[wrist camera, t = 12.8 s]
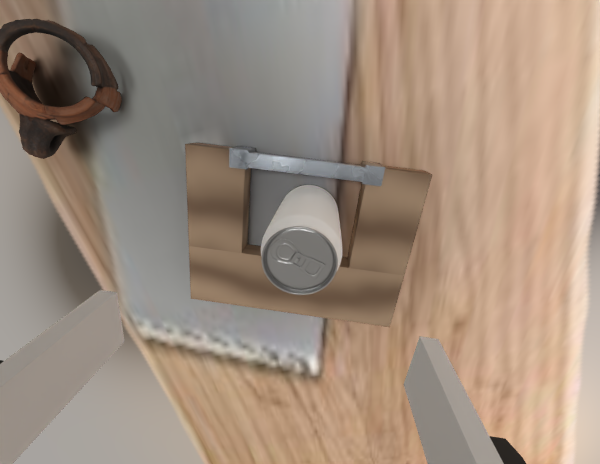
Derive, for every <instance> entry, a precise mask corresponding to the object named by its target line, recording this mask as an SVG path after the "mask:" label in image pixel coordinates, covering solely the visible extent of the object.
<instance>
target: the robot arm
mask: <svg viewBox="0 0 600 464" xmlns="http://www.w3.org/2000/svg"><path fill="white" fill-rule="evenodd" d="M123 343H124V336H123V329H122V322H121V316H120V309H119V302H118V296H117V292H111V291H104V290H99V291H98V292H97V293H95V294H94V295H93V296H91V297H90V298H89V299H87V300H86V301H85V302H83V303H82V304H80V305H79V306H78V307H76V308H75V309H74V310H72V311H71V312H70V313H68V314H67V315H66V316H64V317H63V318H62V319H60V320H59V321H57V322H56V323H55V324H53V325H52V326H51V327H49V328H48V329H47V330H45V331H44V332H43V333H41V334H40V335H39V336H37V337H36V338H35V339H33V340H32V341H30V343H28V344H26V345H25V346H24V347H22V348H21V349H20V350H18V351H17V352H16V353H14V354H13V355H12V356H10V357H9V358H8V359H6V360H5V361H1V360H0V464H12V463H14V462H15V461H16V459H17V458H18V457H19V456H20V455H21V454H22V453H23V452H24V451H25V450H26V449H27V447H28V446H29V445H30V444H31V443H32V442H33V441H34V440H35V439H36V438H37V436H38V435H39V434H40V433H41V432H42V431H43V430H44V429H45V428H46V427H47V425H48V424H49V423H50V422H51V421H52V420H53V419H54V418H55V417H56V416H57V415H58V414H59V413H60V411H61V410H62V409H63V408H64V407H65V406H66V405H67V404H68V403H69V402H70V401H71V399H72V398H73V397H74V396H75V395H76V394H77V393H78V392H79V391H80V390H81V389H82V387H83V386H84V385H85V384H86V383H87V382H88V381H89V380H90V379H91V378H92V377H93V376H94V374H95V373H96V372H97V371H98V370H99V369H100V368H101V367H102V366H103V365H104V364H105V362H106V361H107V360H108V359H109V358H110V357H111V356H112V355H113V354H114V353H115V352H116V350H117V349H118V348H119V347H120V346H121V345H122V344H123ZM404 387H405V390H406V393H407V397H408V400H409V403H410V407H411V410H412V413H413V417H414V420H415V423H416V427H417V430H418V433H419V436H420V440H421V443H422V446H423V450H424V453H425V456H426V460H427V463H428V464H526V463H525V461H524V459H523V458H522V457H521V455H520V454H519V453H518V452H517V451H516V450H515V449H514V448H513V447H512V446H511V444H510V443H509V442H508V441H507V440H506V439H504V438H497V437H491V436H489V435H488V433H487V431H486V429H485V427H484V425H483V423H482V421H481V420H480V418H479V416H478V414H477V412H476V410H475V408H474V406H473V404H472V402H471V400H470V399H469V397H468V395H467V393H466V391H465V389H464V387H463V385H462V383H461V381H460V380H459V378H458V376H457V374H456V372H455V370H454V368H453V366H452V364H451V362H450V361H449V359H448V357H447V355H446V353H445V351H444V349H443V347H442V345H441V343H440V341H439V340H438V339H434V338H427V337H420V338H419V340H418V343H417V346H416V349H415V352H414V355H413V358H412V361H411V364H410V367H409V370H408V373H407V376H406V379H405V382H404Z"/></svg>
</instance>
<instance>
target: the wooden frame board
mask: <svg viewBox="0 0 600 464" xmlns="http://www.w3.org/2000/svg"><path fill="white" fill-rule="evenodd" d="M229 148H232V147H228V146H220V145H211V144H203V143H190V144H185V150H186V177H187V205H188V232H189V259H190V287H191V299H198V300H205V301H212V302H219V303H226V304H233V305H240V306H246V307H253V308H260V309H267V310H274V311H281V312H288V313H295V314H302V315H309V316H315V317H322V318H329V319H336V320H343V321H350V322H357V323H364V324H371V325H378V326H384V327H390V324H391V320H392V317H393V313H394V310H395V306H396V303H397V299H398V295H399V292H400V288H401V285H402V281H403V278H404V274H405V270H406V267H407V263H408V260H409V256H410V253H411V249H412V245H413V242H414V238H415V235H416V231H417V228H418V224H419V220H420V217H421V213H422V210H423V206H424V203H425V199H426V195H427V192H428V188H429V185H430V181H431V178H432V174H430V173H428V172H426V171H423V170H415V169H407V168H398V167H390V166H384V167H385V171H384V176H383V181H382V185H381V186H374V185H366V184H361V190H360V195H359V200H358V205H357V210H356V216H355V221H354V226H353V231H352V237H351V242H350V247H349V252H348V258H344V257H342V260H341V263H340V266H339V268H338V270H337V272H336V274H335V276H334V278H333V280H332V281H331V282H330V283H329V284H328V285H327V286H326V287H325V288H324V289H322V290H320V291H318V292H316V293H313V294H308V295H295V294H290V293H287V292H284V291H282V290H280V289H279V288H277V287H276V286H274V285H273V284H272V283H271V282H270V281H269V279H268V278H267V276H266V275H265V273H264V270H263V267H262V262H261V246H256V245H248V244H247V241H248V220H249V198H250V176H251V168H249V169H239V168H231V167H229Z"/></svg>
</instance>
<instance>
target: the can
mask: <svg viewBox="0 0 600 464" xmlns="http://www.w3.org/2000/svg"><path fill="white" fill-rule="evenodd" d="M341 260H342V239H341V230H340V221H339V213H338V207H337V204H336V202H335V200H334V198H333V197H332V195H331V194H330V193H329V192H327V191H326V190H325V189H323V188H321V187H318V186H314V185H303V186H299V187H297V188H295V189H293V190H291V191H290V192H289V193H288V194H287V195H286V196H285V198H284V199H283V201H282V203H281V204H280V206H279V208H278V210H277V212H276V213H275V215H274V217H273V219H272V221H271V222H270V224H269V226H268V228H267V230H266V232H265V234H264V236H263V239H262V243H261V262H262V267H263V270H264V273H265V275H266V276H267V278H268V279H269V281H270V282H271V283H272V284H273V285H274V286H276V287H277V288H279V289H280V290H282V291H284V292H287V293H290V294H295V295H308V294H313V293H316V292H318V291H320V290H322V289H324V288H325V287H326V286H327V285H328V284H329V283H330V282H331V281H332V280H333V278H334V276H335V274H336V272H337V270H338V268H339V266H340V263H341Z"/></svg>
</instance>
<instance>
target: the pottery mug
mask: <svg viewBox="0 0 600 464" xmlns="http://www.w3.org/2000/svg"><path fill="white" fill-rule="evenodd" d="M35 32H38V33H46V34H50V35H53V36H56V37H59V38H61V39H63V40H64V41H66V42H68V43H69V44H70V45H72V46H73V47H74V48H75V49H76V50H77V51H78V52H79V53H80V54H81V56H82V57H83V58H84V60H85V62H86V63H87V65H88V68H89V71H90V74H91V85H92V86H96V87H98V88H97V91H96V94H95V96H94V97H93V98H92V99H91V98H89V97H85V98H84V99H83V100H81V101H80V102H78V103H76V104H74V105H72V106H66V107H54V106H48V105H44V104H42V102H41V101H40V100H39V98H38V97H37V95H36V93H35V91H34V88H33V85H32V78H33V72H34V69H35V66H36V63H35V62H34V61H32V60H31V59H29V58H27V57H26V56H25V55H23V54H22V53H18V54H17V56H16V58H15V61H14V63H13V65H12V67H11V70H10V71H9V70H8V66H7V57H8V50H9V48H10V46H11V44H12V43H13V42H14V41H15V40H16V39H18V38H19V37H21V36H23V35H25V34H29V33H35ZM117 89H118V84H117V82H116V79H115V77H114V75H113V73H112V71H111V69H110V68H109V66H108V64H107V62H106V61H105V59H104V58H103V57H102V55H101V54H100V53H99V52H98V50H97V49H96V48H95V47H94V46H93V45H89V44H87V43H86V41H85V39H84V38H83V37H82V36H80V35H79V34H77V33H76V32H74V31H72V30H70V29H68V28H66V27H63V26H61V25H59V24H57V23H55V22H53V21H49V20H48V21H44V20H39V19H33V20H31V19H25V20H15V21H13V22H9V23H7V24H4V25H3V27H2V28H1V29H0V92H1V94H2V95H3V97H4V98H5V99H6V100H7V101H8V102H9V103H10V104H11V106H12V107H13V108H14V109H15V110H16V111H17V112H18V113H19V114H20V130H19V133H20V137H21V143H22V146H23V149H24V150H25V151H26V152H27V153H29V154H30V155H33V156H35V157H38V158H43V159H44V158H47V157H50V156H52V155H53V154H54V153H55V152H56V151H57V150H58V148H59V146H60V145H61V143H62V141H63V140H64V138H65V137H67V136H69V135H71V134H74V133H75V132H77V130H76V128H74V127H70V126H67V125H65V124H71V123H74V122H80V121H83V120H85V119H87V118H90V117H92V116H95V115H96V114H98V113H99V112H100V111H102V110H103V109H104V107H105V106H106V107H108V108H110V109H111V110H112V111H113V112H117V111H118V110H119V108H120V105H121V101H122V98H121V96H120V93H119V92H118V91H117ZM51 119H56V120H57V121H58V122H59V123H56V122H53V121H50V120H51Z"/></svg>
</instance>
